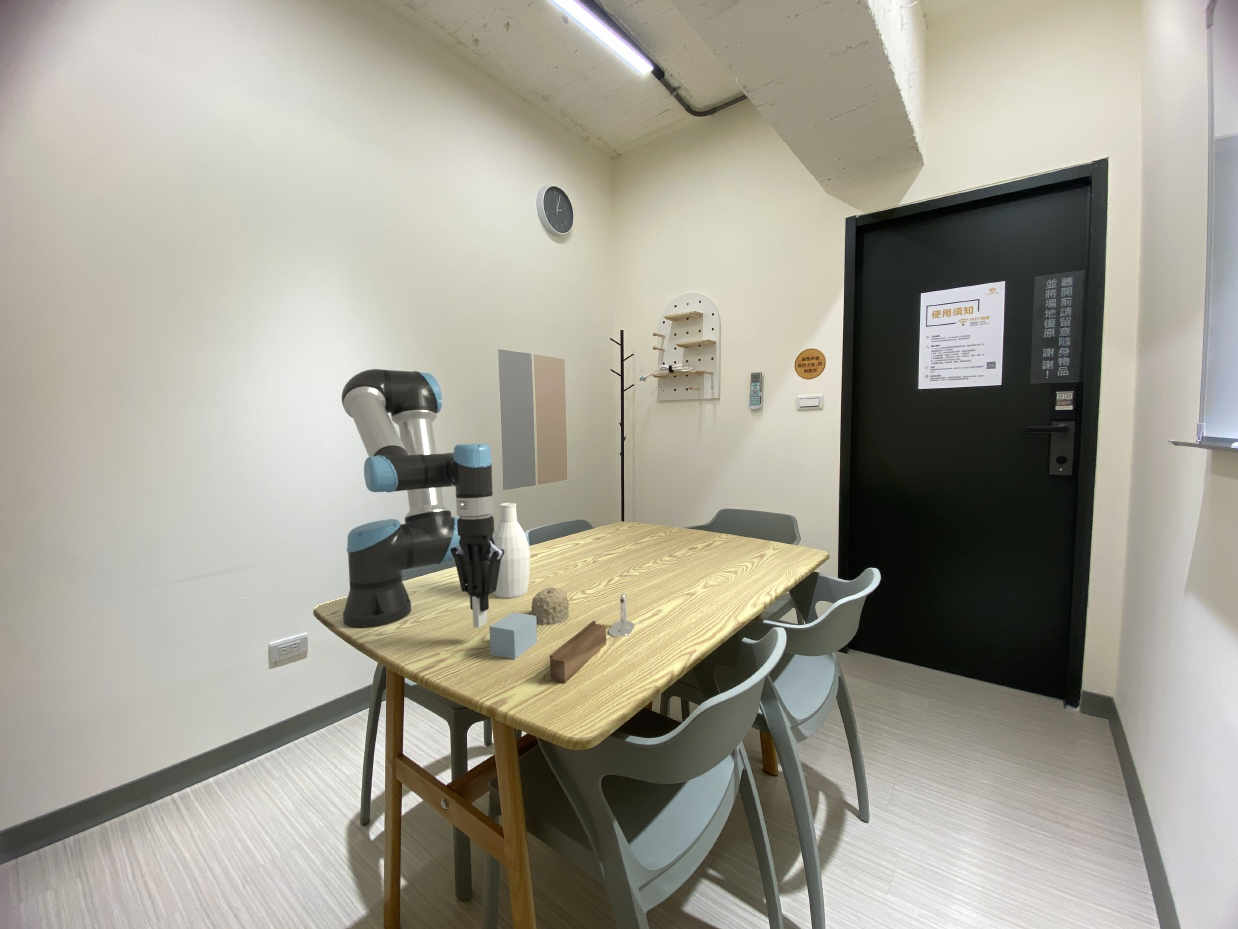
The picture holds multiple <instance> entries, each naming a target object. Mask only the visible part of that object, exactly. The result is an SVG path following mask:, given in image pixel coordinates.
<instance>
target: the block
mask: <svg viewBox="0 0 1238 929" xmlns="http://www.w3.org/2000/svg"><path fill="white" fill-rule="evenodd" d="M537 625H538V624H537V623H536V616H534V615H531V614H528V613H527V614H525V613H520V612H519V613H518V612H511V613H509V614H508V615H507V614H506V616H504V617H503V618H500V619H499V620H497V621H496V622H494V623H492V624H491V625H489V626H488V627H489V628H488V629H489V649H490V650H489V651H490V655H491V656H494V657H495V656H497V657H500V658H501V657H502V658H506V659H510V660H516V659H518V658H519V657H520V656H522V655H523V654H524V653H526V652H527V651H528V650H530V649H531V648H532V647H534V646H535V645H536V644H537V643H538V636H537V635H538V634H537V632H538V630H537V627H538V626H537Z"/></svg>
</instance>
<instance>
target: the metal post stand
mask: <svg viewBox="0 0 1238 929" xmlns="http://www.w3.org/2000/svg"><path fill="white" fill-rule="evenodd" d="M619 602H620V605H619V606H620V620H619V621H616V622H613V624H612V625H611V627H610V628H609V629H608V634H609V635H610V636H611V637H614V638H624V637H627V636H629V635H631V634H632V632H633V631H634V629H635V624H634V622H632V621H628V618H627V616H628V614H627V613H628V611H627V610H628V608H627V595H626V594H625V593H621V595H620V598H619Z"/></svg>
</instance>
